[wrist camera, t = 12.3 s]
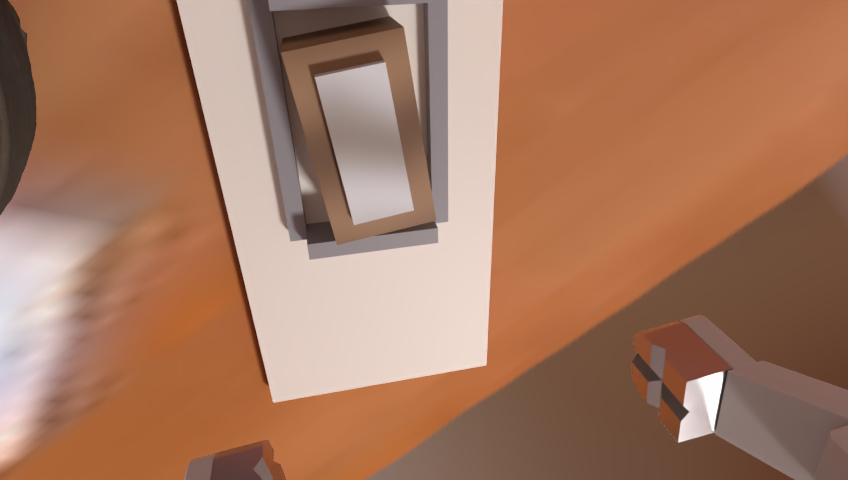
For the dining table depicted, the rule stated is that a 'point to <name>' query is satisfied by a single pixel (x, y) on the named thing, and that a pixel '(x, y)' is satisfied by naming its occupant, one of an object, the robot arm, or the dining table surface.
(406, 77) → the frame
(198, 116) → the dining table surface
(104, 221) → the dining table surface
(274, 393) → the wall panel
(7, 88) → the pot
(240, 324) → the dining table surface
